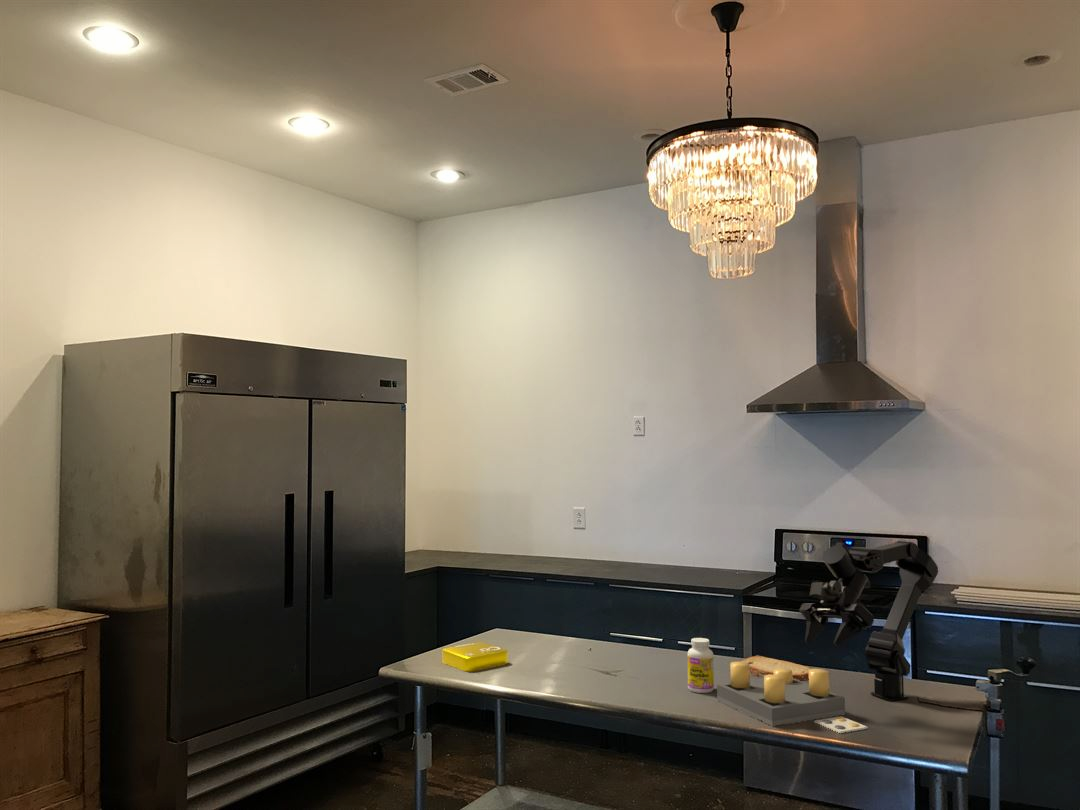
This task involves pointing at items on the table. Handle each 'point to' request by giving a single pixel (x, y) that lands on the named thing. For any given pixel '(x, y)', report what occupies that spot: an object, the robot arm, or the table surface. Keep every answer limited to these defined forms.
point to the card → (841, 724)
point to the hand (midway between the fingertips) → (820, 643)
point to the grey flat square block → (792, 710)
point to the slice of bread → (775, 667)
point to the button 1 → (740, 674)
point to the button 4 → (819, 682)
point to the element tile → (474, 656)
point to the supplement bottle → (700, 666)
